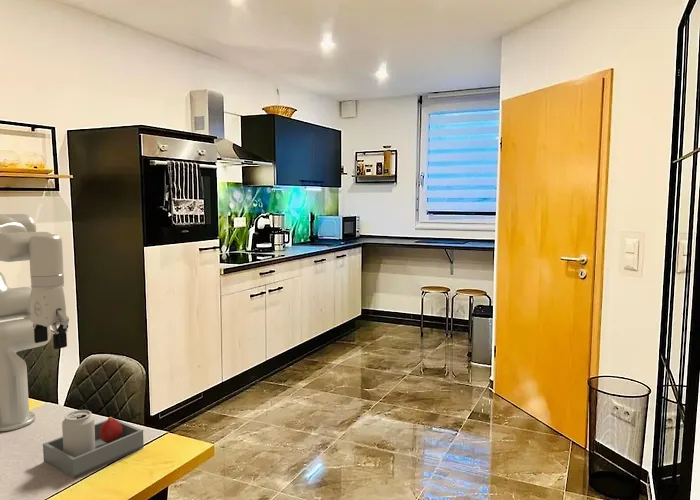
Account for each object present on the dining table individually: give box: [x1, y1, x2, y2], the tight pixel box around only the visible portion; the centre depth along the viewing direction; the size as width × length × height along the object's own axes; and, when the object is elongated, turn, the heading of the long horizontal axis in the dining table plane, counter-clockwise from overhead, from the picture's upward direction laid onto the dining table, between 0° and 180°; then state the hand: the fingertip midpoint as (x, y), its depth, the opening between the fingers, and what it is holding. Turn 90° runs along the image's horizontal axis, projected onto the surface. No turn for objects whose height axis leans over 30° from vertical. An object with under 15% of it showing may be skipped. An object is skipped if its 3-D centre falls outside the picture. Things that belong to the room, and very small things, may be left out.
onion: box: [100, 416, 122, 443], centre depth 145 cm, size 6×6×8 cm
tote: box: [42, 417, 144, 480], centre depth 140 cm, size 15×20×5 cm
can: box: [61, 409, 96, 458], centre depth 137 cm, size 8×8×12 cm
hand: (50, 344), depth 138 cm, fingers open, 9 cm apart
